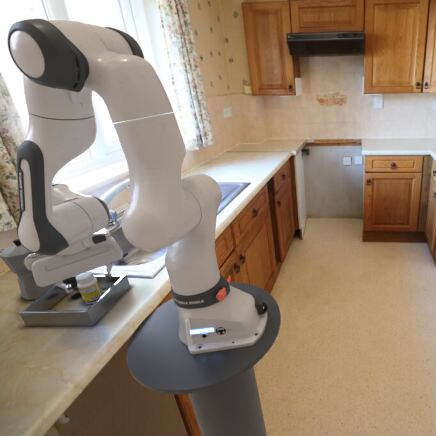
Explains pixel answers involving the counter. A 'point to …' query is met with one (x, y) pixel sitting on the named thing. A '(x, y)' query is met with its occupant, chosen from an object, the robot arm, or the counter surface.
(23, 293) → the coffeepot
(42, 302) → the shallow rectangular grey tray
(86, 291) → the supplement bottle
